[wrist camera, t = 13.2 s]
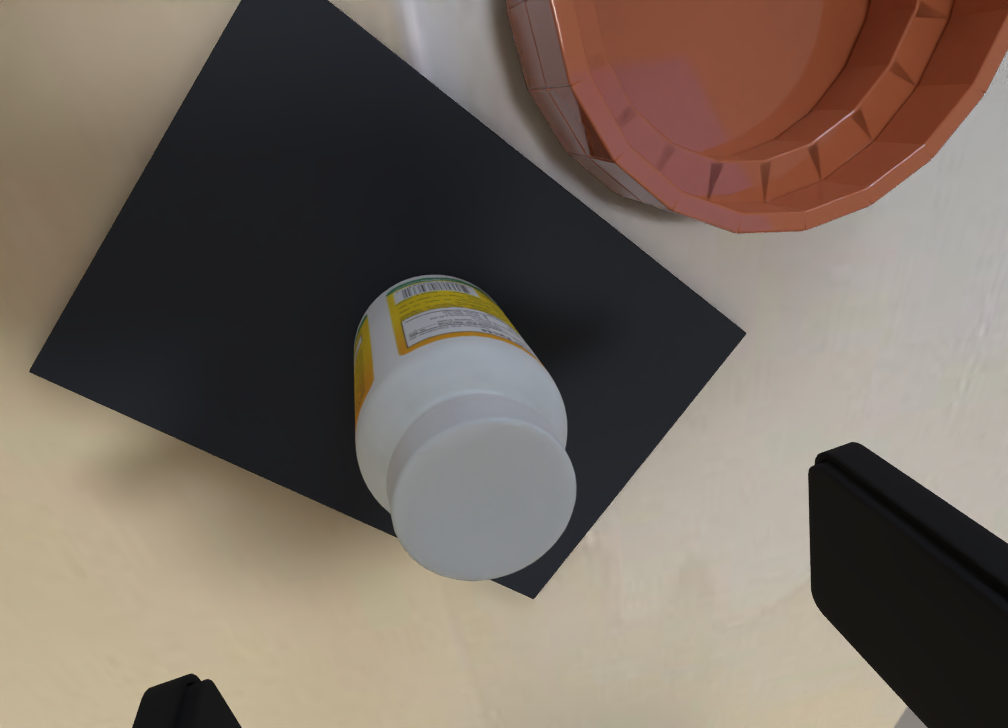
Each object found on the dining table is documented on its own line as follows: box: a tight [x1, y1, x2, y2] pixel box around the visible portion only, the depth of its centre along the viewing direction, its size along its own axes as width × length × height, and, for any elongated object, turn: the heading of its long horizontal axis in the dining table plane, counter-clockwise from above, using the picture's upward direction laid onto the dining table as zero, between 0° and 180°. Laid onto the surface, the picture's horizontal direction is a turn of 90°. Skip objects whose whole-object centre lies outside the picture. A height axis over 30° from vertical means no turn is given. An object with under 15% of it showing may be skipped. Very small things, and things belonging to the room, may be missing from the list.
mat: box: [29, 0, 746, 599], centre depth 22 cm, size 20×14×1 cm
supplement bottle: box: [354, 275, 576, 581], centre depth 18 cm, size 5×5×10 cm
